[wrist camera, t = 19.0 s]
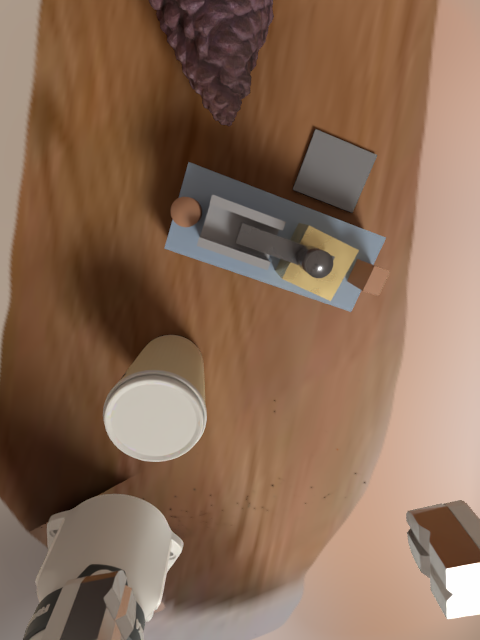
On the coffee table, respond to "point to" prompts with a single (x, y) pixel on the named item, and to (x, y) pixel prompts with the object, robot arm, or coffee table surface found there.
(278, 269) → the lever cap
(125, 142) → the coffee table surface
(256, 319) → the coffee table surface
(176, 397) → the coffee cup
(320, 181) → the mat
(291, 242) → the ball-knob lever
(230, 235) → the plane body
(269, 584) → the coffee table surface
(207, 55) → the pine cone
